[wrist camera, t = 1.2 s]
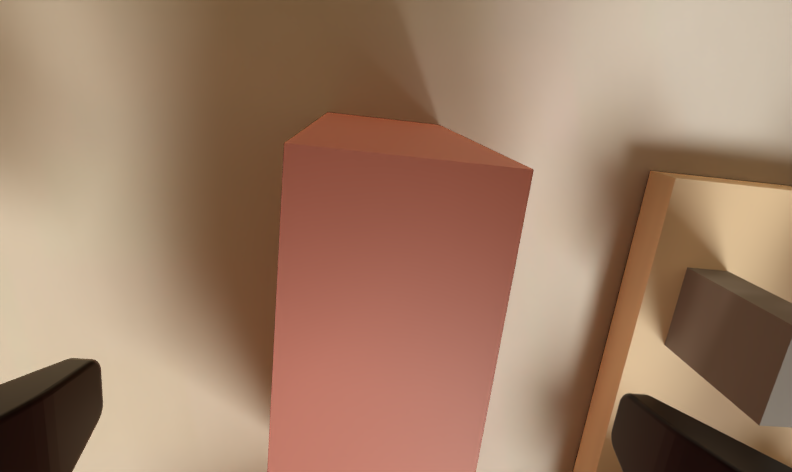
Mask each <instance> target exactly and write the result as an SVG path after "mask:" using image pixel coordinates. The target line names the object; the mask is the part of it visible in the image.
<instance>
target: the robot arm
mask: <svg viewBox="0 0 792 472" xmlns="http://www.w3.org/2000/svg"><path fill="white" fill-rule="evenodd" d="M102 408H103V396H102V379H101V367H100V364H99V363H98V362H97V361H96V360H93V359H79V358H70V359H67V360H64V361H61V362H59V363H56V364H53V365H51V366H48V367H45V368H43V369H40V370H37V371H35V372H32V373H30V374H27V375H24V376H22V377H19V378H16V379H14V380H11V381H8V382H6V383H3V384H0V472H72V471H73V469H74V467H75V465H76V463H77V461H78V460H79V458H80V456H81V454H82V452H83V450H84V448H85V446H86V444H87V442H88V440H89V438H90V436H91V434H92V432H93V430H94V428H95V427H96V425H97V423H98V421H99V418H100V416H101V413H102ZM611 441H612V446H613V449H614V451H615V454H616V456H617V459H618V461H619V464H620V466H621V469H622V471H623V472H792V468H791V467H789V466H787V465H785V464H783V463H781V462H779V461H777V460H775V459H773V458H771V457H769V456H767V455H765V454H763V453H761V452H759V451H758V450H756V449H754V448H752V447H750V446H748V445H746V444H744V443H742V442H740V441H738V440H736V439H734V438H732V437H730V436H728V435H726V434H724V433H722V432H720V431H718V430H716V429H714V428H712V427H710V426H708V425H706V424H705V423H703V422H701V421H699V420H697V419H695V418H693V417H691V416H689V415H687V414H685V413H683V412H681V411H679V410H677V409H675V408H673V407H671V406H669V405H667V404H665V403H663V402H661V401H659V400H657V399H655V398H654V397H652V396H649V395H646V394H633V393H627V394H625V395H623V396H622V398H621V399H620V402H619V405H618V409H617V413H616V416H615V420H614V424H613V427H612V432H611Z"/></svg>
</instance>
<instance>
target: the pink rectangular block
mask: <svg viewBox="0 0 792 472" xmlns="http://www.w3.org/2000/svg"><path fill="white" fill-rule="evenodd" d="M532 175H533V169H531V168H529V167H527V166H525V165H523V164H521V163H518V162H516V161H514V160H512V159H510V158H508V157H506V156H504V155H502V154H499V153H497V152H495V151H493V150H491V149H489V148H487V147H485V146H483V145H481V144H478V143H476V142H474V141H472V140H470V139H468V138H466V137H464V136H462V135H460V134H457V133H455V132H453V131H451V130H449V129H447V128H445V127H443V126H441V125H436V124H427V123H418V122H410V121H401V120H392V119H383V118H374V117H365V116H357V115H348V114H339V113H330V112H327V113H326V114H325V115H323V116H322V117H320V118H319V119H317V120H316V121H315V122H313V123H312V124H310V125H309V126H308V127H306V128H305V129H303V130H302V131H300V132H299V133H298V134H296V135H295V136H293V137H292V138H291V139H289V140H288V141H286V142H285V143H284V155H283V175H282V194H281V214H280V233H279V253H278V273H277V292H276V312H275V332H274V351H273V371H272V391H271V410H270V430H269V449H268V469H267V472H476V468H477V462H478V457H479V452H480V447H481V442H482V436H483V431H484V426H485V421H486V415H487V410H488V405H489V400H490V395H491V389H492V384H493V379H494V374H495V368H496V363H497V358H498V353H499V348H500V342H501V337H502V332H503V327H504V321H505V316H506V311H507V306H508V301H509V295H510V290H511V285H512V280H513V274H514V269H515V264H516V259H517V254H518V248H519V243H520V238H521V233H522V227H523V222H524V217H525V212H526V206H527V201H528V196H529V191H530V186H531V180H532Z"/></svg>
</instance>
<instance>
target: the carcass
mask: <svg viewBox="0 0 792 472" xmlns="http://www.w3.org/2000/svg"><path fill="white" fill-rule="evenodd" d="M627 393H633V394H646V395H649V396H652V397H654V398H655V399H657V400H659V401H661V402H663V403H665V404H667V405H669V406H671V407H673V408H675V409H677V410H679V411H681V412H683V413H685V414H687V415H689V416H691V417H693V418H695V419H697V420H699V421H701V422H703V423H705V424H706V425H708V426H710V427H712V428H714V429H716V430H718V431H720V432H722V433H724V434H726V435H728V436H730V437H732V438H734V439H736V440H738V441H740V442H742V443H744V444H746V445H748V446H750V447H752V448H754V449H756V450H758V451H759V452H761V453H763V454H765V455H767V456H769V457H771V458H773V459H775V460H777V461H779V462H781V463H783V464H785V465H787V466H789V467H791V468H792V186H786V185H777V184H768V183H759V182H749V181H740V180H731V179H722V178H713V177H704V176H694V175H685V174H676V173H667V172H658V171H650V174H649V178H648V182H647V186H646V190H645V194H644V198H643V201H642V205H641V209H640V213H639V217H638V221H637V225H636V229H635V233H634V236H633V240H632V244H631V248H630V252H629V256H628V260H627V264H626V268H625V272H624V275H623V279H622V283H621V287H620V291H619V295H618V299H617V303H616V307H615V310H614V314H613V318H612V322H611V326H610V330H609V334H608V338H607V342H606V345H605V349H604V353H603V357H602V361H601V365H600V369H599V373H598V377H597V381H596V384H595V388H594V392H593V396H592V400H591V404H590V408H589V412H588V416H587V419H586V423H585V427H584V431H583V435H582V439H581V443H580V447H579V451H578V454H577V458H576V462H575V466H574V470H573V472H623V471H622V469H621V466H620V464H619V461H618V459H617V456H616V454H615V451H614V449H613V446H612V441H611V432H612V427H613V424H614V420H615V416H616V413H617V409H618V405H619V402H620V399H621V398H622V396H623V395H625V394H627Z"/></svg>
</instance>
